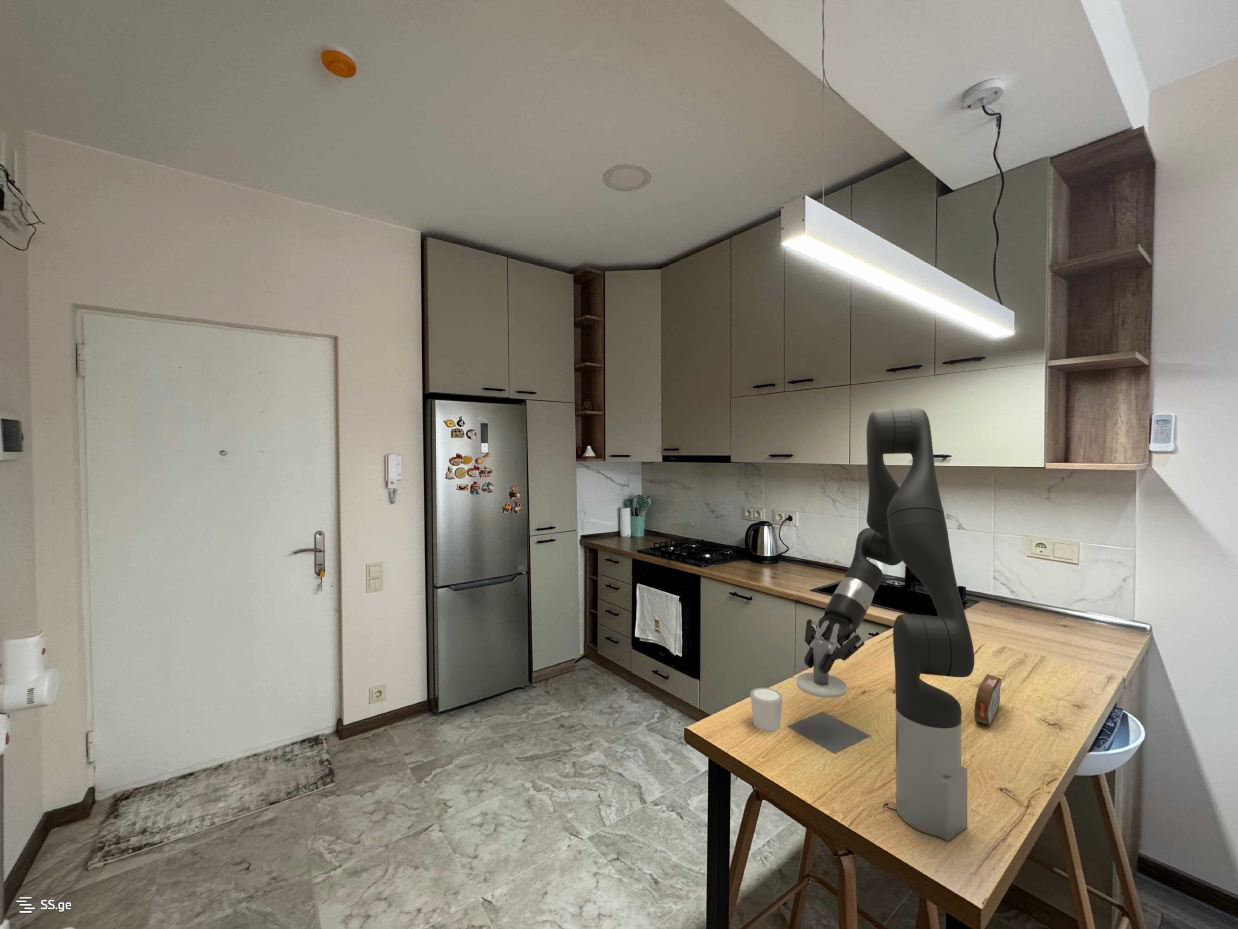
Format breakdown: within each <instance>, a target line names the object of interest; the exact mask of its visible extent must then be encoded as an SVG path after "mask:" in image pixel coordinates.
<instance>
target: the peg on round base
mask: <svg viewBox="0 0 1238 929" xmlns="http://www.w3.org/2000/svg"><path fill="white" fill-rule="evenodd" d="M828 649H829V644H828V641H827V640H825V639H824V638H823V639H821V638H816V639H813V667H812V668H813V672H806V673H801V674H799V675H797V677H796V686H797V688H798V689H799V690H800V691H802V692H803V693H805V694H808V695H811V696H814V697H818V698H825V699H835V698H840V697H843V696H845V695H846V693H847V684H846V682H845V681H843V679H841V678H839V677H837V676H834V675H831V674H829V672H827V673H826V674H823V673H821V671H820V670H819V669H818V667H819V665H820V663H821V661H822V659H823V657H824V656H825V654H828Z"/></svg>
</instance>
